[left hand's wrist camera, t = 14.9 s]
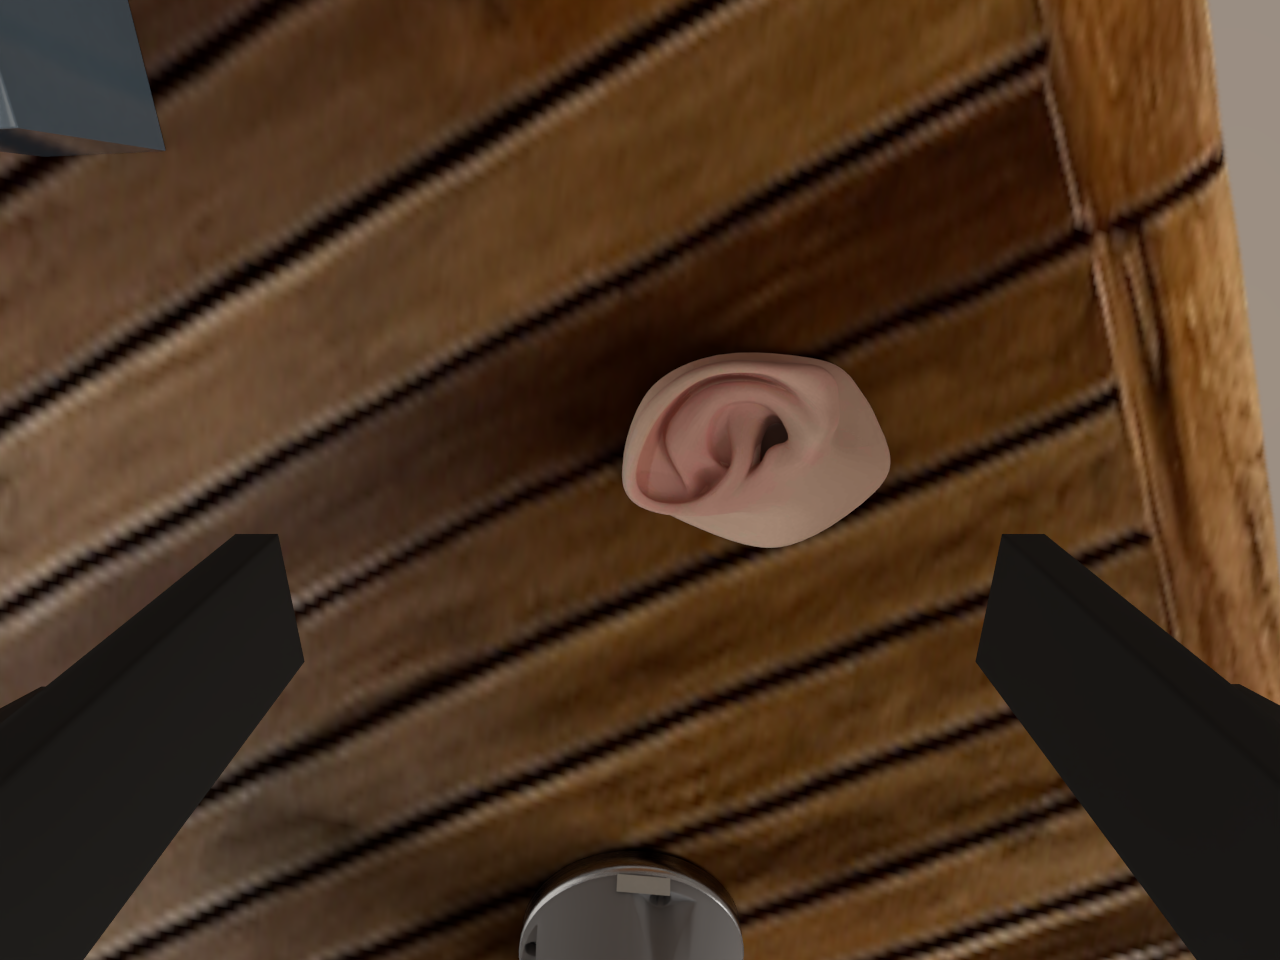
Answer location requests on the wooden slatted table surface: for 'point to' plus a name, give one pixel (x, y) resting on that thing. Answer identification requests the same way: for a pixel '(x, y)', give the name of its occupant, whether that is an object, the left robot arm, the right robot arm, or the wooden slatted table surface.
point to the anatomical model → (755, 447)
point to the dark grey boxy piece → (73, 80)
